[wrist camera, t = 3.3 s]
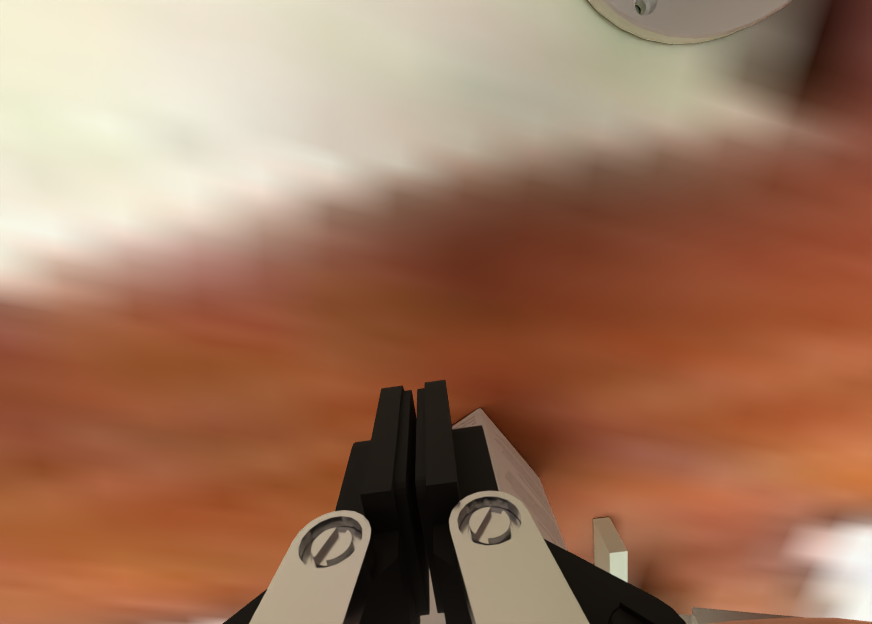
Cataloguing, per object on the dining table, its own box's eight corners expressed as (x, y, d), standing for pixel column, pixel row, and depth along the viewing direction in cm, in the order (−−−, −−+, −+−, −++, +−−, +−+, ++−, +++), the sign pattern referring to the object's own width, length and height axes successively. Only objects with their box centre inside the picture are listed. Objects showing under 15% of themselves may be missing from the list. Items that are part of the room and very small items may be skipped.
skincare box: (433, 543, 27) (441, 1003, 12) (365, 474, 25) (276, 908, 10) (545, 475, 25) (713, 899, 10) (481, 396, 24) (574, 770, 9)
